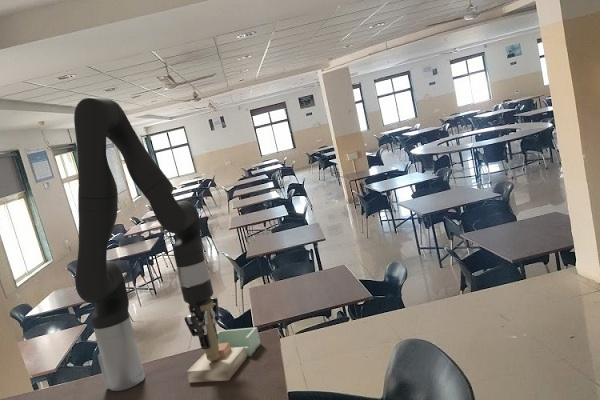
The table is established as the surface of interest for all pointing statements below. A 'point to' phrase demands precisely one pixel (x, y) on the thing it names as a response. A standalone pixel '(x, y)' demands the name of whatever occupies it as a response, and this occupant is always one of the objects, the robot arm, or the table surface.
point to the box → (241, 339)
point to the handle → (210, 333)
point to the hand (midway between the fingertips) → (210, 344)
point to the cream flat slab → (217, 367)
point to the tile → (224, 349)
